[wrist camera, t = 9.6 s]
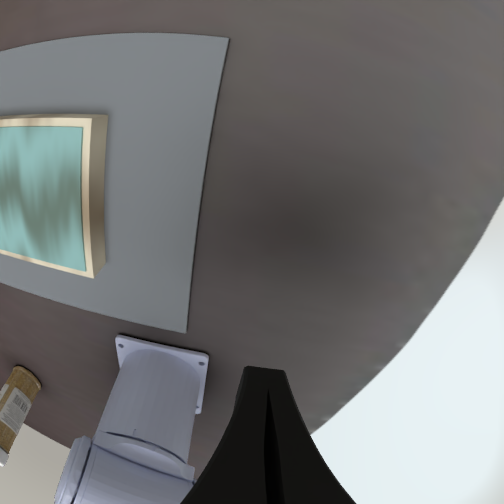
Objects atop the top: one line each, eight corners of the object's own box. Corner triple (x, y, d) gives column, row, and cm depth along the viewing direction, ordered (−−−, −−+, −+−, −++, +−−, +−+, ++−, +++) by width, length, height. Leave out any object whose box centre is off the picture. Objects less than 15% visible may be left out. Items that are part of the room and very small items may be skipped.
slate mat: (186, 330, 23) (185, 333, 23) (-18, 272, 21) (-20, 274, 21) (229, 39, 13) (228, 38, 13) (-33, 62, 12) (-36, 62, 12)
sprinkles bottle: (9, 361, 28) (-35, 438, 16) (33, 369, 28) (-12, 454, 16) (24, 383, 30) (-14, 458, 18) (47, 391, 30) (10, 472, 18)
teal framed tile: (92, 279, 18) (-16, 249, 17) (105, 262, 20) (-1, 237, 19) (90, 118, 13) (-30, 122, 12) (108, 114, 15) (-10, 116, 14)
